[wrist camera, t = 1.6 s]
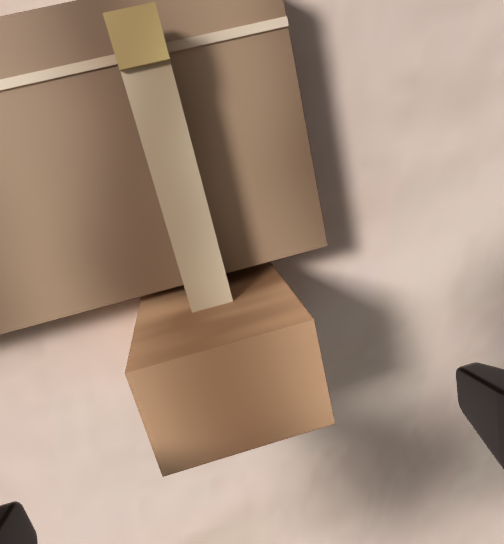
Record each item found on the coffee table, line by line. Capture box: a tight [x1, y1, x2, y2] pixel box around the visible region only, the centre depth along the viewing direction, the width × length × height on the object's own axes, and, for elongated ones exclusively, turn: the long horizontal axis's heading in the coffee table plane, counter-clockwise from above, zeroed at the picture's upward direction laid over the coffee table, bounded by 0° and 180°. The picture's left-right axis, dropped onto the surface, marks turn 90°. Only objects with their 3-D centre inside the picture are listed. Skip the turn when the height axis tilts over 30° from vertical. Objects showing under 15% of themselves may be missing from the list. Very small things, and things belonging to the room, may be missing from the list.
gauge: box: [103, 2, 335, 477], centre depth 12 cm, size 4×11×6 cm, turn 13°
